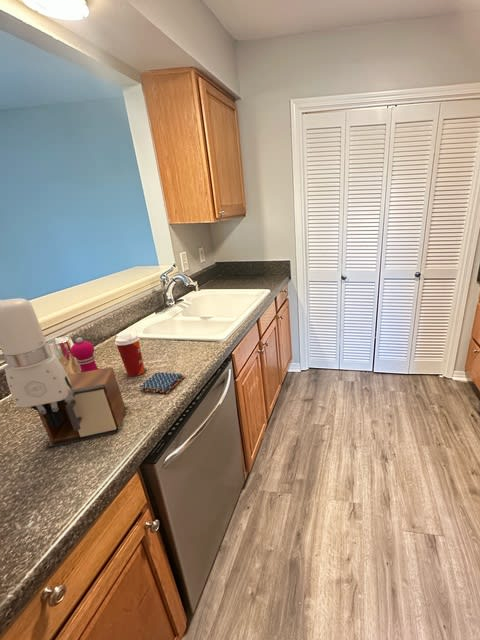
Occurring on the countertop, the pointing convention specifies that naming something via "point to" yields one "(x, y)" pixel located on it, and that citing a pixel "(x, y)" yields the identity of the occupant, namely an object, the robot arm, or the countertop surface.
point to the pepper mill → (84, 355)
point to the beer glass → (64, 354)
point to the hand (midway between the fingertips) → (58, 423)
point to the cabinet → (80, 385)
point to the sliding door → (90, 413)
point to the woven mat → (162, 382)
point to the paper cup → (130, 353)
